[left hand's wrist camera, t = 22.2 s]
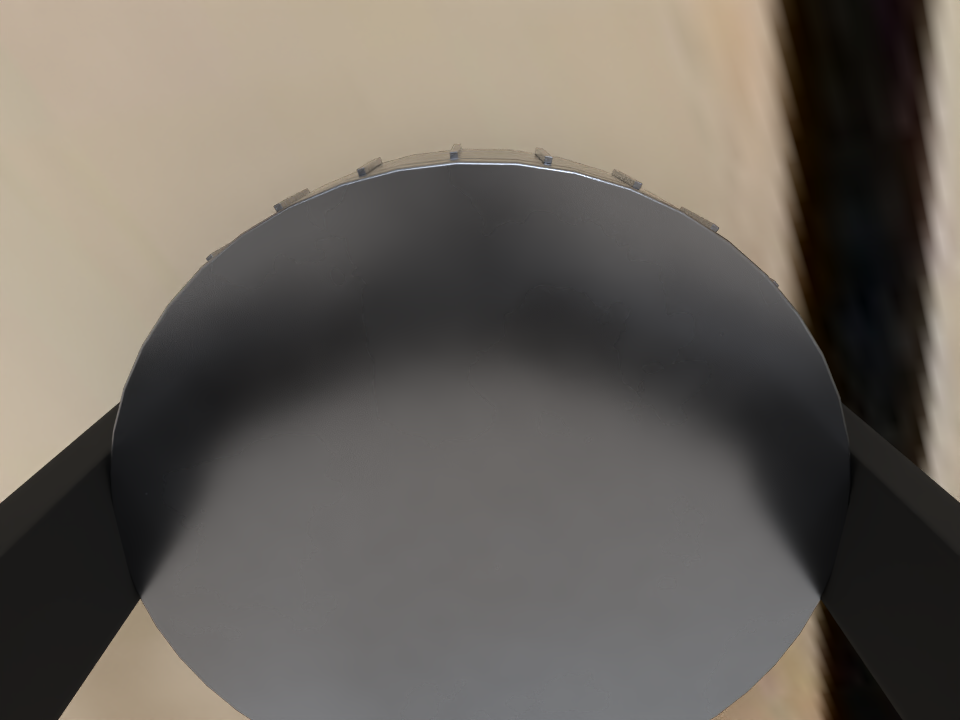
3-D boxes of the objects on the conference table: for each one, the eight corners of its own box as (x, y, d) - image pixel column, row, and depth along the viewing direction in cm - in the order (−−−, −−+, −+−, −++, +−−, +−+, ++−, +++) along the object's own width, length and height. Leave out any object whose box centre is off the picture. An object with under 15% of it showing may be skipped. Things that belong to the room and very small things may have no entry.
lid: (157, 649, 14) (103, 740, 12) (178, 66, 10) (101, 57, 8) (675, 730, 15) (705, 828, 13) (903, 229, 11) (1001, 260, 9)
